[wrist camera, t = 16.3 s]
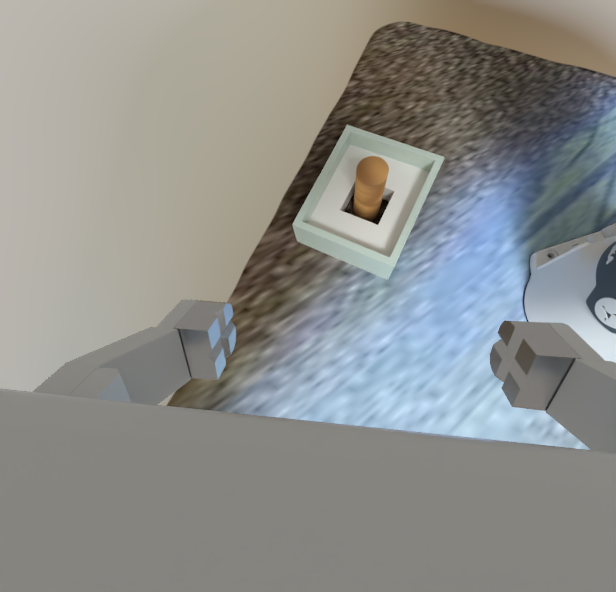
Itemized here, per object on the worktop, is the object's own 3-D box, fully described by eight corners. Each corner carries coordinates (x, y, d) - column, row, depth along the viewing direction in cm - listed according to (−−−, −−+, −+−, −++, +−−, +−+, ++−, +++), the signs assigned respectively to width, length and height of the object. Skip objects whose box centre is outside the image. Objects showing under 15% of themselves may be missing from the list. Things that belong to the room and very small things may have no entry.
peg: (370, 195, 49) (377, 150, 40) (383, 214, 48) (395, 173, 38) (348, 207, 49) (350, 165, 39) (361, 226, 48) (367, 188, 38)
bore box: (346, 150, 52) (347, 124, 46) (433, 181, 49) (444, 157, 43) (297, 241, 48) (292, 224, 43) (387, 280, 45) (394, 267, 40)
